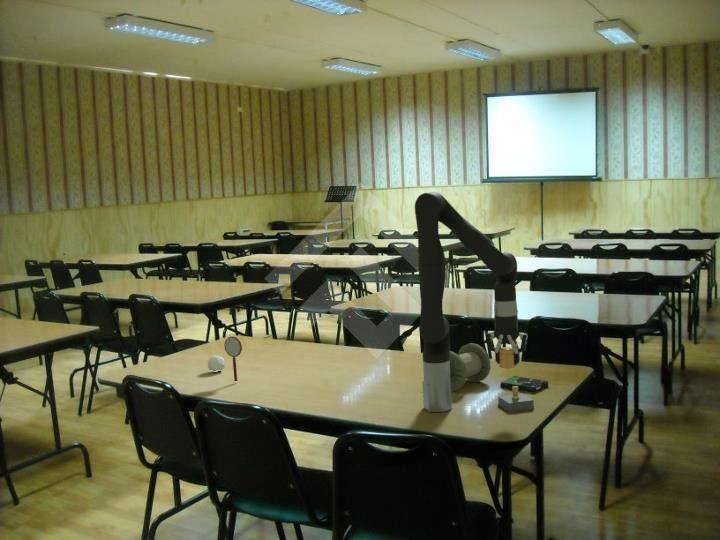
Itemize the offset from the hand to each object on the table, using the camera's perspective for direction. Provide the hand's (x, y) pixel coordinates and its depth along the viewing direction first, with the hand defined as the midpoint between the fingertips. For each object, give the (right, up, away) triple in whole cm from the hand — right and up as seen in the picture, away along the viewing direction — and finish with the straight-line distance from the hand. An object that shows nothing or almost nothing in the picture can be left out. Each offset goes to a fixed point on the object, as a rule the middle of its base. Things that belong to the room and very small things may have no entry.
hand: (507, 363), depth 247 cm
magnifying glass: (-101, -17, +65) cm, 121 cm away
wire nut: (0, -1, 0) cm, 1 cm away
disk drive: (+13, -14, +33) cm, 38 cm away
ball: (-113, -15, +87) cm, 143 cm away
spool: (-9, -14, +40) cm, 44 cm away
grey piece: (+5, -16, +10) cm, 20 cm away
